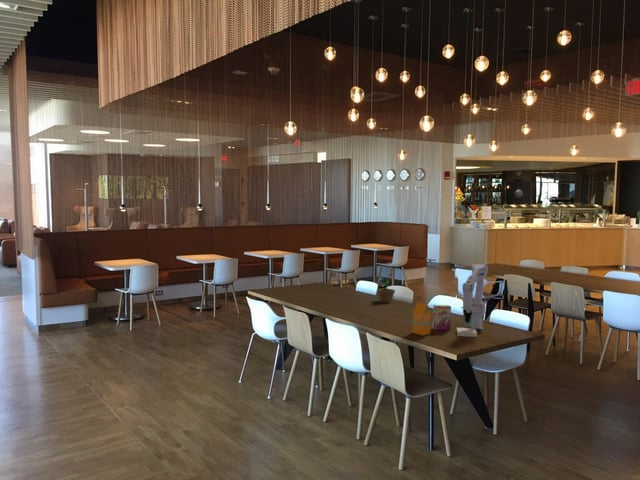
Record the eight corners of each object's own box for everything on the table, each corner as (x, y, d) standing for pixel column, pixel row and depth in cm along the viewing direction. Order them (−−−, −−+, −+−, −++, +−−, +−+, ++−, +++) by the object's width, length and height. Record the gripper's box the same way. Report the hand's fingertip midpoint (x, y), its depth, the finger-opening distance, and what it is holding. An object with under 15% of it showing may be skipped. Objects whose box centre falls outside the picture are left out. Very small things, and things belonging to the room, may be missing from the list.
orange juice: (422, 335, 337) (423, 305, 335) (412, 332, 344) (413, 302, 342) (430, 333, 341) (431, 303, 340) (420, 331, 348) (421, 301, 347)
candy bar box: (433, 330, 351) (434, 306, 350) (432, 328, 356) (432, 304, 354) (450, 330, 351) (451, 306, 350) (448, 328, 356) (449, 304, 355)
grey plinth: (456, 331, 350) (456, 327, 349) (475, 333, 347) (475, 328, 347) (457, 336, 338) (457, 331, 338) (476, 337, 335) (477, 333, 335)
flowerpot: (394, 303, 439) (395, 268, 437) (377, 303, 441) (378, 267, 439) (394, 300, 453) (395, 266, 451) (377, 299, 455) (378, 265, 453)
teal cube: (463, 322, 345) (463, 315, 344) (471, 323, 344) (471, 315, 343) (463, 324, 340) (464, 316, 339) (471, 325, 339) (472, 317, 338)
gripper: (460, 298, 349) (460, 318, 350) (462, 302, 334) (461, 323, 335) (471, 299, 347) (471, 319, 348) (473, 303, 333) (472, 324, 334)
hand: (467, 321), depth 342 cm, fingers closed on teal cube, 5 cm apart
